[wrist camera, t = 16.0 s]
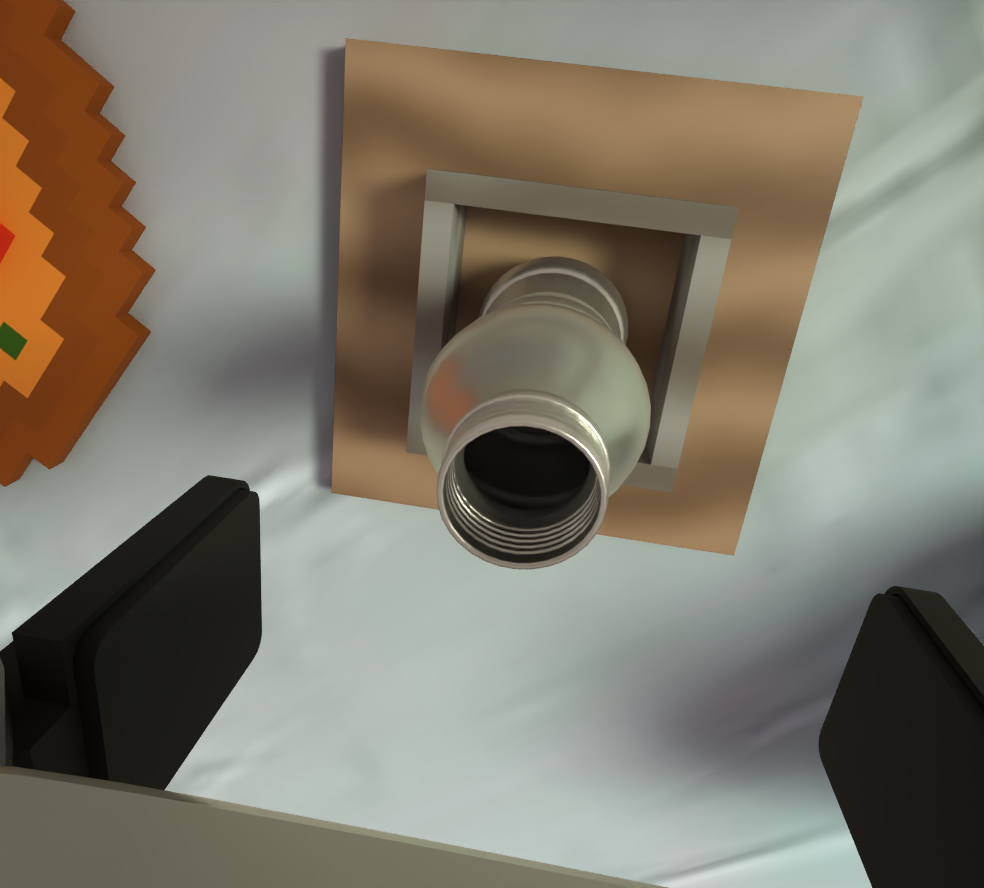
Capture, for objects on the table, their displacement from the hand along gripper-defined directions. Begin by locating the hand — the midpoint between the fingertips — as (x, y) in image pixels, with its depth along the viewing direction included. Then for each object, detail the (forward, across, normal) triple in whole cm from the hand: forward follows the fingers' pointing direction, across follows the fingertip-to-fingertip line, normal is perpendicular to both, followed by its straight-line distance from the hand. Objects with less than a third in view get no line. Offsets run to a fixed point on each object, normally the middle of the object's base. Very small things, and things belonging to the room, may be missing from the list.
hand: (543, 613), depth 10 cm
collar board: (+26, 0, +1) cm, 26 cm away
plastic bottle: (+24, +1, 0) cm, 25 cm away
